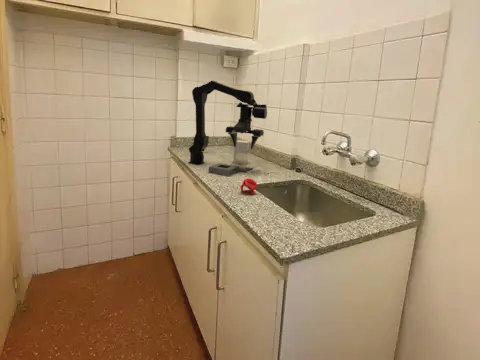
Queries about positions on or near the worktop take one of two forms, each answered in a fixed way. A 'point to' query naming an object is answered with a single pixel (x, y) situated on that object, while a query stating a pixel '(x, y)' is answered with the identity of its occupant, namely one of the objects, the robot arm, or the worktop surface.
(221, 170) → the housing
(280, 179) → the worktop surface
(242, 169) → the rubber mat
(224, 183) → the worktop surface
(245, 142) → the supplement box
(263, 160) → the worktop surface
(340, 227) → the worktop surface
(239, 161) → the end cover
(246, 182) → the red plastic curved piece
